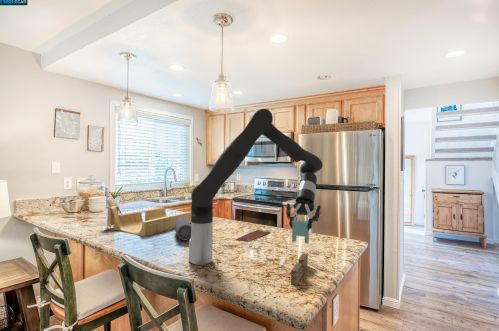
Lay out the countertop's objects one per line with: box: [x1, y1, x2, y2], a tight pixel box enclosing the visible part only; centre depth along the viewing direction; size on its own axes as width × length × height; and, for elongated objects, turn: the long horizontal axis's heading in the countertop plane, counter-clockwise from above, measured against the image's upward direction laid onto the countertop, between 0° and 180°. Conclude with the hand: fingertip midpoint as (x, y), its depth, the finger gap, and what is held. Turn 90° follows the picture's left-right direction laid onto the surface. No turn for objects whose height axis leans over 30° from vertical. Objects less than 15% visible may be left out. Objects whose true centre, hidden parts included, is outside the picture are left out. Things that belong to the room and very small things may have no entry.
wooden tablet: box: [235, 229, 271, 243], centre depth 158 cm, size 27×10×2 cm, turn 147°
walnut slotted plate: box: [290, 252, 309, 286], centre depth 102 cm, size 2×20×5 cm, turn 158°
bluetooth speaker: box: [174, 217, 191, 241], centre depth 153 cm, size 23×9×10 cm, turn 19°
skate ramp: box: [106, 203, 192, 237], centre depth 179 cm, size 40×35×16 cm
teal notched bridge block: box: [291, 219, 310, 244], centre depth 102 cm, size 6×2×8 cm, turn 67°
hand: (299, 227), depth 101 cm, fingers closed on teal notched bridge block, 6 cm apart
